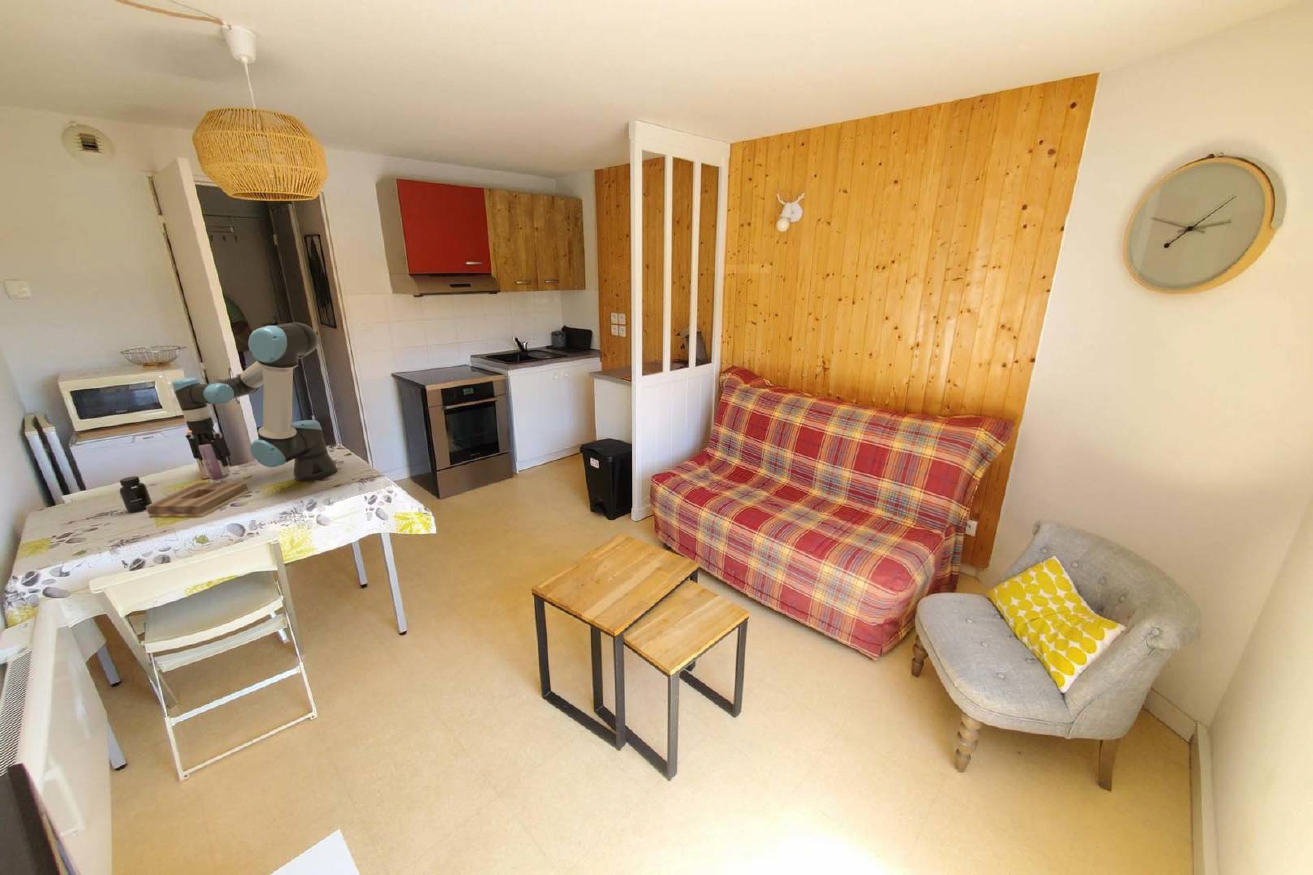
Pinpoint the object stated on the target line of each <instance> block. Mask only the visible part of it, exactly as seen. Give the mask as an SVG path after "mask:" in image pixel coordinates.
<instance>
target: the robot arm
mask: <svg viewBox="0 0 1313 875" xmlns="http://www.w3.org/2000/svg"><path fill="white" fill-rule="evenodd" d="M247 343H248V349H249V351H250V352H251V353H252V354H251V355H252V356H253V358H255V359H256V361H255V362H254V363H252V364H251V365H250V366H249V367H247V368H246V369H245V370H243V371H242V372H241V373H240V374H238V375H237V376H235V377H231V378H227V379H223V380H220V381H218V380H217V381H215V382H210V383H200V381H199V379H198V378H197V377H185V378H180V379H176V380H174V381H172V383H171V384H172V388H173V392H174V395H175V397H176V400H177V402H178V404H179V407H180V409H181V412H182V416H183V418H184V420H185V421H186V422H185V423H186V426H187V428H188V430H190V431H192V433H191V434H185V438H186V440H187V441H188V444H189V447H190V450H191V452H192V457H193V458H194V459H195V460H196V458H197V459H199V460H200V461H201V463H202V466H203V467H204V468H205V471H206V474H207V476H209V474H208V472H207V469H206V466H205V464H204V461H203V458H202V456H201V453H200V450H199V446H198V445H201V444H204V443H207V444H211V446H212V447H213V450H214V452H215V454H216V455H217V456H218V458H219V459H217V461H218V463H219V466H220V469H221V471H222V474H223V475H226V474H228V473H229V474H230V473H231V470H230V466H229V465H230V464H229V462H228V459H227V458H228V457H229V456H231V451H230V450H229V447H228V445H227V442H226V440H225V436H224V432H222V431H220V432H216V430H215V429H214V427H215V423H214V420H213V418H212V417H211V412H210V410H209V407H208V405H209V404H210V405H213V404H215V405H220V404H227V403H229V402H231V401H232V400H234V399H236V398H240V397H244V396H247V395H252V394H254V393H257V392H259V391H261V390H262V389H263V391H262V392H263V393H262V394H263V395H262V400H263V401H262V402H263V403H262V404H263V405H262V407H263V408H262V409H263V410H262V411H263V412H262V414H263V418H262V419H263V420H262V422H263V425H262V426H261V427H260V428H259V429H258V430H257V431H258V432H257V433H258V435H257V437H258V438H257V439H256V440H254V441H253V442H251V444H250V446H249V449H250V450H249V451H250V453H251V456H252V457H253V458H254V460H256V462H258V463H259V464H260V465H262V466H264V467H267V468H277V467H279V466H283V465H284V464H286V463H288V462H290V461H293V460H294V464H293V465H294V466H293V477H294V480H295V481H299V482H308V481H309V482H310V481H316V480H321V479H325V478H327V477H329V476H332V475H334V474H335V473H337V472H338V466H337V463H336V462H334V461H333V459H332V457H331V455H330V454H329V452H328V448H327V444H326V441H325V440H326V439H325V437H324V433H323V432H324V431H323V429H322V426H321V423H320V422H319V421H318V420H314V419H312V420H311V419H307V420H306V419H304V420H297V421H293V392H294V391H293V384H294V382H293V380H294V378H293V377H294V376H293V375H294V369H295V368H296V367H298V366H299V359H304V358H305V357H307V356H308V355H310V354H311V353H312V352H314V351H315V350H316V349H317V346H318V344H319V339H318V335H317V333H316V331H315V330H314V329H313V328H312V327H311V326H309V325H307V324H305V323H301V322H288V323H282V324H276V325H265V326H262V327H259V328H257V329H255V330H253V331H252V332H251V334H250V335H249V338H248V342H247ZM197 454H198V455H197ZM221 455H222V456H221Z"/></svg>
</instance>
